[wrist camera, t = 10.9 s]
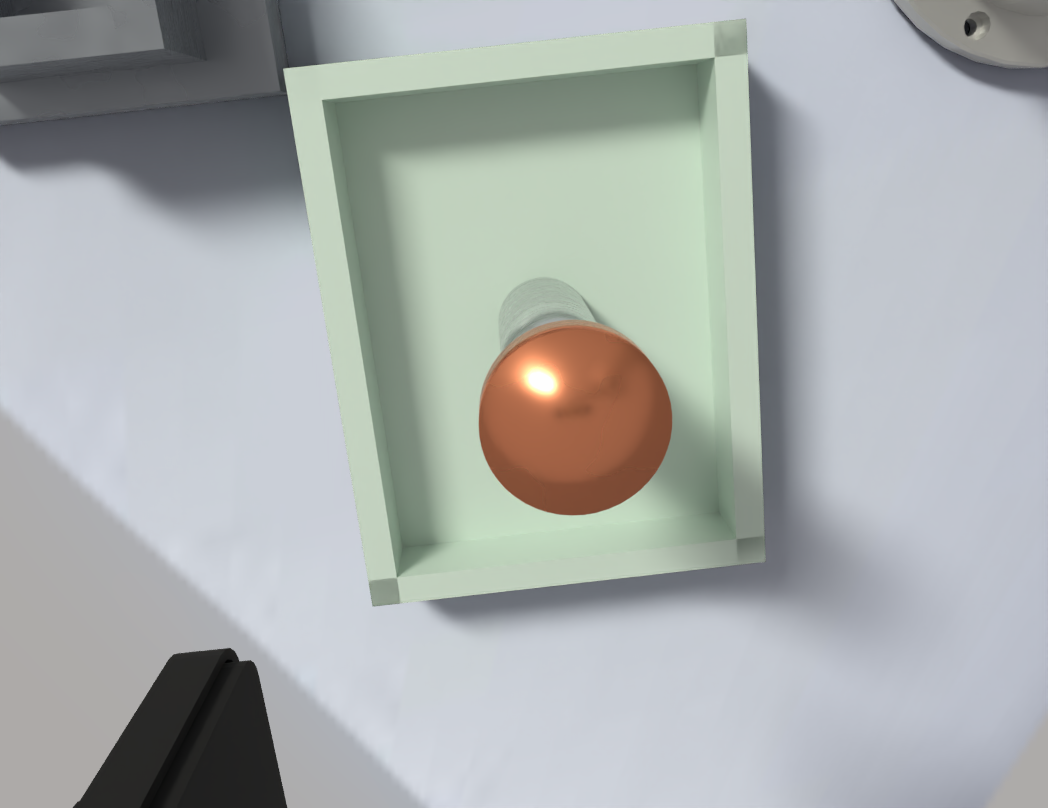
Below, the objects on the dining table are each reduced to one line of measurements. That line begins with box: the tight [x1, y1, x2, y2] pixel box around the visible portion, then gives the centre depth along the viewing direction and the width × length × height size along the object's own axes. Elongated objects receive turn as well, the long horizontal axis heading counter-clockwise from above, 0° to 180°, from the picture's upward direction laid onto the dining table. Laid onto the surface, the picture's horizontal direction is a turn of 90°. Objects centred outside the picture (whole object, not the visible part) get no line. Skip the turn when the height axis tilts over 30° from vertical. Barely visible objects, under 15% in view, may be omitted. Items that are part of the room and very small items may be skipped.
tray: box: [283, 19, 766, 606], centre depth 32 cm, size 14×18×4 cm
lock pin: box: [479, 277, 672, 516], centre depth 27 cm, size 4×4×12 cm
